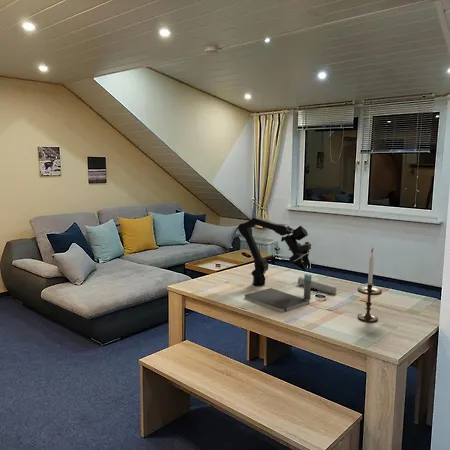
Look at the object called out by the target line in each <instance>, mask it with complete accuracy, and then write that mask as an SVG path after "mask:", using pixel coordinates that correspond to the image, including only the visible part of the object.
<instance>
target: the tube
mask: <svg viewBox="0 0 450 450" xmlns="http://www.w3.org/2000/svg"><path fill="white" fill-rule="evenodd" d="M297 279H298V280H297V285H299V286H302V287H304V277H303V276H299V277H298V278H297ZM313 288H314V289H313ZM311 289H313V290H316V289H317V291H320V292H323V293H327V294H331V295H334V294H336V293H337V291H338V290H337V287H336V286H335V285H332V284H329V283H325V282H321V281H318V280H315V279H311Z"/></svg>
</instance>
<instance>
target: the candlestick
mask: <svg viewBox="0 0 450 450" xmlns="http://www.w3.org/2000/svg"><path fill="white" fill-rule="evenodd" d="M370 252H371V254H370V255H369V261H368V276H367V277H368V279H367V282H366V283H365V285H366V286H365V285H364V286H363V285H361V286H359V287H357V289H356V290H357V292H358V293H360V294H362V295H367V300H366V302H365V305H366V307H365V310H366V313H359V314H358V315H357V320H359V321H361V322H363V323H377V322H379V318H378V316H376V315H374V314H371V313H370V312H371V310H372V308H371V307H372V304H373V303H372V302H371V299H372V297H371V296H379V295H382V292H383V290H382V289H381V288H378V287H375V284H374V283H373V276H374V261H375V260H374V259H375V256H374V247H372V248H371V251H370Z"/></svg>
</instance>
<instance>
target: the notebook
mask: <svg viewBox="0 0 450 450" xmlns="http://www.w3.org/2000/svg"><path fill="white" fill-rule="evenodd" d="M243 296H244V299H245V300H248V301H251V302H253V303H256V304H257V305H260V306H264V307H267V308H270V309H271V308H272V309H271V310H274V309H275V310H274V311H277V312H279V311H280V313H283V312H287V311H291V310H293V309H296V308H299V307H302V306H305V305H309V304H311V303H310V302H311V301H310V299H304V297H300V296H296V295H294V294H291V293H287V292H284V291H281V290H277V289H275V288H272V287H269V288H266V289H262V290H261V289H260V290H258V291H253V292H251V293H247V294H244V295H243Z"/></svg>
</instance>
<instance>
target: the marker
mask: <svg viewBox="0 0 450 450" xmlns="http://www.w3.org/2000/svg"><path fill="white" fill-rule="evenodd" d="M303 276H304V277H303V278H304V286H303V299H306V300H311V295H312V292H311V289H312V288H311V280H312V274H311V273H310V274H308V273H307V274H306V273H305V274H304V275H303Z"/></svg>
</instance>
